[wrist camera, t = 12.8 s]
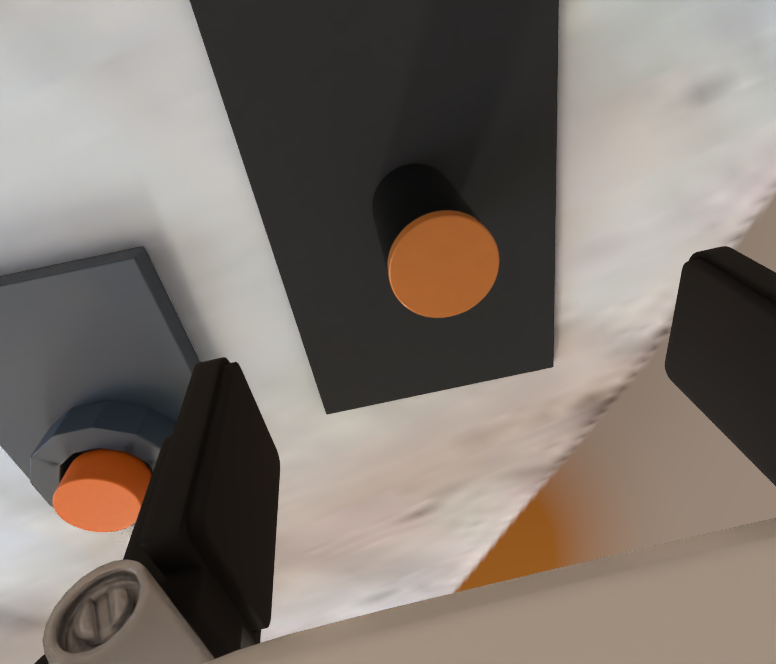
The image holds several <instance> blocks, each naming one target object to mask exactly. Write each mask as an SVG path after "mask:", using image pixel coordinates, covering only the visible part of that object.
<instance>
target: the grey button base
mask: <svg viewBox="0 0 776 664" xmlns="http://www.w3.org/2000/svg"><path fill="white" fill-rule="evenodd" d="M197 363H200V362H199V360H198V357H197V355H196V353H195V351H194V349H193V347H192V345H191V343H190V341H189V339H188V337H187V335H186V333H185V331H184V329H183V327H182V324H181V322H180V320H179V318H178V316H177V314H176V312H175V310H174V308H173V306H172V304H171V302H170V300H169V298H168V296H167V294H166V291H165V289H164V287H163V285H162V283H161V281H160V279H159V277H158V275H157V273H156V271H155V269H154V267H153V265H152V263H151V261H150V258H149V256H148V254H147V252H146V250H145V248H144V247H138V248H133V249H128V250H123V251H119V252H114V253H109V254H104V255H99V256H95V257H90V258H85V259H80V260H76V261H71V262H66V263H61V264H57V265H52V266H47V267H42V268H38V269H33V270H28V271H23V272H18V273H14V274H9V275H4V276H0V446H1V447H2V448H3V449H4V450H5V451H6V453H7V454H8V455H9V456H10V457H11V458H12V460H13V461H14V462H15V463H16V464H17V465H18V466H19V468H20V469H21V470H22V471H23V472H24V473H25V474H26V476H27V477H28V478H29V479H30V480H31V483H32V485H33V486H34V487H35V489H36V490H37V491H38V492H39V493H40V494H41V495H42V497H43V498H44V499H45V500H46V501H47V502H48V503H49V505H50V506H52V507H53V495H54V492H55V491H56V489H57V487H58V485H59V484H60V482H61V480H62V478H63V477H64V475H65V473H66V471H67V470H68V468H69V466H70V464H71V463H72V461H73V460H74V459H75V458H76V457H78V456H79V455H81V454H83V453H85V452H88V451H91V450H96V449H110V450H116V451H123V452H127V453H129V454H132V455H134V456H135V457H137V458H139V459H140V460H142V461H143V462H144V463H145V464H146V465H147V466H148V468H149V469H150V471H151V473H153V470H154V467H155V464H156V461H157V458H158V455H159V452H160V449H161V446H162V444H163V442H164V440H165V438H167V437H168V436H169V435H172V434H173V431H174V428H175V425H176V422H177V419H178V416H179V413H180V410H181V406H182V403H183V400H184V397H185V394H186V391H187V388H188V385H189V382H190V379H191V375H192V372H193V369H194V367H195V365H196V364H197ZM53 508H54V507H53ZM135 523H136V522H135ZM135 523H134V524H133V525H135ZM133 525H131V526H133Z"/></svg>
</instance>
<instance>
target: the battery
mask: <svg viewBox="0 0 776 664" xmlns="http://www.w3.org/2000/svg"><path fill="white" fill-rule="evenodd" d="M372 213H373V218H374V222H375V226H376V230H377V234H378V238H379V242H380V245H381V249H382V253H383V257H384V261H385V265H386V269H387V273H388V277H389V281H390V284H391V288H392V290H393V292H394V294H395V296H396V297H397V299H398V300H399V301H400V302H401V303H402V304H403V305H404V306H405V307H406V308H408V309H409V310H411V311H413V312H415V313H417V314H419V315H422V316H426V317H433V318H444V317H451V316H454V315H458V314H460V313H463V312H465V311H467V310H469V309H471V308H472V307H474V306H475V305H476V304H478V303H479V302H480V301H481V300H482V299H483V298H484V297H485V296H486V295H487V293H488V292H489V291H490V289H491V288H492V286H493V284H494V282H495V280H496V277H497V274H498V269H499V251H498V247H497V244H496V242H495V240H494V238H493V236H492V235H491V233H490V232H489V231H488V230H487V228H486V227H485V226H484V224H483V223H482V222H481V221H480V219H479V218H478V217H477V216H476V214H475V213H474V212H473V211H472V209H471V208H470V207H469V205H468V204H467V203H466V202H465V200H464V199H463V198H462V197H461V195H460V194H459V193H458V191H457V190H456V189H455V188H454V186H453V185H452V184H451V183H450V181H449V180H448V179H447V178H446V176H445V175H444V174H443V173H441V172H440V171H439V170H437V169H436V168H434V167H432V166H429V165H425V164H419V163H415V164H407V165H403V166H400V167H398V168H396V169H394V170H393V171H391V172H390V173H389V174H387V175H386V176H385V177H384V178H383V179H382V181H381V182H380V183H379V185H378V187H377V188H376V191H375V193H374V197H373V201H372Z"/></svg>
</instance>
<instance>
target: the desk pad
mask: <svg viewBox="0 0 776 664" xmlns="http://www.w3.org/2000/svg"><path fill="white" fill-rule="evenodd" d="M190 3H191V6H192V9H193V12H194V15H195V18H196V21H197V24H198V27H199V30H200V33H201V36H202V39H203V42H204V45H205V48H206V51H207V54H208V57H209V60H210V63H211V66H212V69H213V72H214V75H215V78H216V81H217V84H218V87H219V90H220V93H221V96H222V99H223V102H224V105H225V109H226V112H227V115H228V118H229V121H230V124H231V127H232V130H233V133H234V136H235V139H236V142H237V145H238V148H239V151H240V154H241V157H242V160H243V163H244V166H245V169H246V172H247V175H248V178H249V181H250V184H251V187H252V190H253V193H254V196H255V199H256V202H257V205H258V208H259V211H260V214H261V218H262V221H263V224H264V227H265V230H266V233H267V236H268V239H269V242H270V245H271V248H272V251H273V254H274V257H275V260H276V263H277V266H278V269H279V272H280V275H281V278H282V281H283V284H284V287H285V290H286V293H287V296H288V299H289V302H290V305H291V308H292V311H293V314H294V317H295V320H296V323H297V327H298V330H299V333H300V336H301V339H302V342H303V345H304V348H305V351H306V354H307V357H308V360H309V363H310V366H311V369H312V372H313V375H314V378H315V381H316V384H317V387H318V390H319V393H320V396H321V399H322V402H323V405H324V408H325V411H326V414H331V413H336V412H341V411H346V410H350V409H355V408H360V407H365V406H369V405H374V404H379V403H384V402H388V401H393V400H398V399H403V398H408V397H412V396H417V395H422V394H427V393H431V392H436V391H441V390H446V389H451V388H455V387H460V386H465V385H470V384H474V383H479V382H484V381H489V380H493V379H498V378H503V377H508V376H513V375H517V374H522V373H527V372H532V371H536V370H541V369H546V368H551V367H553V356H554V286H555V217H556V147H557V77H558V8H559V0H190ZM415 163H419V164H425V165H429V166H432V167H434V168H436V169H437V170H439V171H440V172H441V173H443V174H444V175H445V176H446V178H447V179H448V180H449V181H450V183H451V184H452V185H453V186H454V188H455V189H456V190H457V191H458V193H459V194H460V195H461V197H462V198H463V199H464V200H465V202H466V203H467V204H468V205H469V207H470V208H471V209H472V211H473V212H474V213H475V214H476V216H477V217H478V218H479V219H480V221H481V222H482V223H483V224H484V226H485V227H486V228H487V230H488V231H489V232H490V233H491V235H492V236H493V238H494V240H495V242H496V244H497V247H498V251H499V269H498V274H497V277H496V280H495V282H494V284H493V286H492V288H491V289H490V291H489V292H488V293H487V295H486V296H485V297H484V298H483V299H482V300H481V301H480V302H479V303H478V304H476V305H475V306H474V307H472V308H471V309H469V310H467V311H465V312H463V313H460V314H458V315H454V316H451V317H444V318H433V317H426V316H422V315H419V314H417V313H415V312H413V311H411V310H409V309H408V308H406V307H405V306H404V305H403V304H402V303H401V302H400V301H399V300H398V299H397V297H396V296H395V294H394V292H393V290H392V288H391V284H390V281H389V277H388V273H387V269H386V265H385V261H384V257H383V253H382V249H381V245H380V242H379V238H378V234H377V230H376V226H375V222H374V218H373V213H372V201H373V197H374V193H375V191H376V188H377V187H378V185H379V183H380V182H381V181H382V179H383V178H384V177H385V176H386V175H387V174H389V173H390V172H391V171H393V170H394V169H396V168H398V167H400V166H403V165H407V164H415Z"/></svg>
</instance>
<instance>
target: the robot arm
mask: <svg viewBox="0 0 776 664" xmlns="http://www.w3.org/2000/svg"><path fill="white" fill-rule="evenodd" d="M665 369H666V373H667V375H668V377H669V378H670V380H671V381H672V382H673V383H674V384H675V385H676V386H677V387H678V388H679V389H680V390H681V391H682V392H683V393H684V394H685V395H686V396H687V397H688V398H689V399H690V400H691V401H692V402H693V403H694V404H695V405H696V406H697V407H698V408H699V409H700V410H701V411H702V412H703V413H704V414H705V415H706V416H707V417H708V418H709V419H710V420H711V421H712V422H713V423H714V424H715V425H716V426H717V427H718V428H719V429H720V430H721V431H722V432H723V433H724V434H725V435H726V436H727V437H728V438H729V439H730V440H731V441H732V442H733V443H734V444H735V445H736V446H737V447H738V448H739V449H740V450H741V451H742V453H744V455H745V456H746V457H747V458H748V459H749V460H750V461H752V463H753V464H755V466H756V467H757V468H758V469H759V470H760V471H761V472H762V473H763V474H764V475H765V476H766V477H767V478H768V479H769V480H770V481H771V482H772V483H773V484H774V485H775V486H776V273H775V272H774V271H772V270H770V269H768V268H766V267H764V266H763V265H761V264H759V263H757V262H755V261H753V260H752V259H750V258H748V257H746V256H745V255H743V254H741V253H739V252H737V251H736V250H734V249H732V248H730V247H727V246H723V247H718V248H713V249H709V250H704V251H700V252H696V253H694V254H693V255H692V256H691V257H690V259H689V261H688V262H686V263H685V264H684V265H683V268H682V273H681V278H680V284H679V289H678V295H677V300H676V305H675V311H674V316H673V322H672V327H671V333H670V338H669V343H668V349H667V354H666V360H665ZM279 479H280V460H279V456H278V452H277V449H276V447H275V445H274V443H273V440H272V438H271V436H270V433H269V431H268V429H267V427H266V424H265V422H264V420H263V418H262V415H261V413H260V411H259V408H258V406H257V404H256V402H255V399H254V397H253V395H252V392H251V390H250V388H249V386H248V383H247V381H246V379H245V376H244V374H243V372H242V370H241V367H240V366H239V364H238V363H237V362H233V363H230V362H229V361H228V360H227V359H226V358H224V357H223V358H219V359H214V360H210V361H205V362H201V363H197V364H196V365H195V367H194V369H193V372H192V375H191V379H190V382H189V385H188V388H187V391H186V394H185V397H184V400H183V403H182V406H181V410H180V413H179V416H178V419H177V422H176V425H175V428H174V431H173V434H172V435H169V436H168V437H167V438H165V440H164V442H163V444H162V446H161V449H160V452H159V455H158V458H157V461H156V464H155V467H154V470H153V473H152V476H151V479H150V482H149V485H148V488H147V491H146V493H145V496H144V499H143V502H142V505H141V508H140V511H139V514H138V517H137V520H136V523H135V526H134V529H133V532H132V535H131V538H130V541H129V544H128V547H127V549H126V552H125V555H124V558H123V560H119V561H112V562H110V563H107V564H105V565H103V566H100V567H98V568H96V569H94V570H93V571H91V572H90V573H88V574H87V575H85V576H84V577H82V578H81V579H80V580H79V581H78V582H76V583H75V584H74V585H73V586H72V587H71V588H70V589H69V590H68V591H67V592H66V593H65V594H64V596H63V597H62V598H61V600H60V601H59V602H58V604H57V605H56V606H55V607H54V609H53V611H52V613H51V615H50V617H49V619H48V621H47V623H46V627H45V631H44V636H43V646H44V652H45V654H44V655H43V656H42V657H41V658H40V659H39V660H38V661H37V662H36V663H34V664H776V518H773V519H769V520H764V521H760V522H756V523H751V524H747V525H742V526H738V527H734V528H729V529H725V530H721V531H716V532H712V533H707V534H703V535H699V536H695V537H690V538H686V539H682V540H677V541H673V542H669V543H664V544H660V545H656V546H652V547H647V548H643V549H639V550H634V551H630V552H626V553H621V554H617V555H613V556H609V557H604V558H600V559H596V560H592V561H587V562H583V563H579V564H574V565H570V566H566V567H562V568H557V569H553V570H549V571H545V572H541V573H536V574H532V575H528V576H524V577H519V578H515V579H511V580H507V581H503V582H498V583H494V584H490V585H486V586H482V587H478V588H473V589H469V590H465V591H461V592H457V593H452V594H448V595H444V596H440V597H436V598H431V599H427V600H423V601H419V602H415V603H410V604H406V605H402V606H398V607H394V608H390V609H385V610H382V611H378V612H374V613H370V614H366V615H362V616H358V617H354V618H350V619H347V620H343V621H339V622H335V623H331V624H327V625H323V626H319V627H315V628H312V629H308V630H304V631H300V632H296V633H292V634H288V635H285V636H282V637H278V638H275V639H272V640H269V641H265V642H262V643H260V637H261V629H264V628H268V627H269V625H270V621H271V608H272V592H273V576H274V560H275V543H276V527H277V511H278V495H279Z"/></svg>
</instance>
